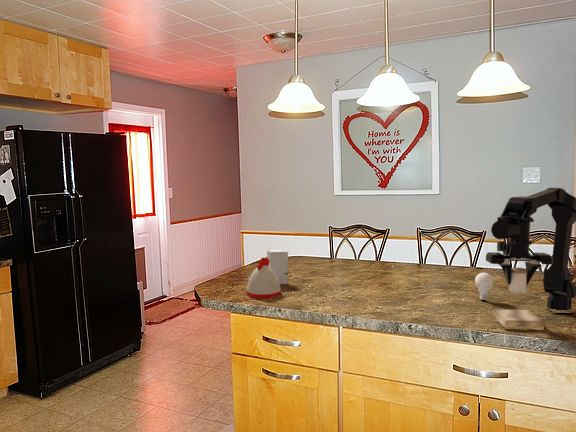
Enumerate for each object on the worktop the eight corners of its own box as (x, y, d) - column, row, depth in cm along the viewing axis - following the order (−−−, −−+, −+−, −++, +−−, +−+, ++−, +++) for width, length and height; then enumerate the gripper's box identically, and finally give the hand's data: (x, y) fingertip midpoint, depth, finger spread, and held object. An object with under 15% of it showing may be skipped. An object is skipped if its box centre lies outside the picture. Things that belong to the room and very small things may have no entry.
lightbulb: (494, 300, 177) (495, 272, 176) (489, 304, 173) (490, 275, 171) (477, 297, 182) (478, 270, 180) (471, 301, 177) (472, 272, 176)
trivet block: (527, 318, 157) (528, 309, 156) (544, 330, 145) (545, 321, 144) (491, 317, 158) (491, 309, 157) (504, 330, 146) (505, 320, 145)
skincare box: (270, 285, 203) (270, 252, 201) (266, 282, 209) (266, 250, 207) (288, 284, 206) (288, 250, 204) (284, 281, 211) (283, 248, 210)
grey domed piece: (286, 292, 193) (286, 256, 191) (268, 300, 181) (268, 262, 180) (259, 288, 200) (258, 253, 198) (239, 295, 188) (239, 259, 187)
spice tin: (522, 288, 153) (523, 267, 152) (529, 293, 148) (530, 271, 147) (505, 288, 153) (506, 267, 152) (512, 292, 148) (512, 270, 147)
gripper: (538, 233, 156) (536, 279, 157) (481, 233, 157) (479, 278, 159) (554, 238, 145) (552, 287, 146) (492, 238, 146) (490, 286, 148)
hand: (517, 284), depth 150 cm, fingers closed on spice tin, 5 cm apart
